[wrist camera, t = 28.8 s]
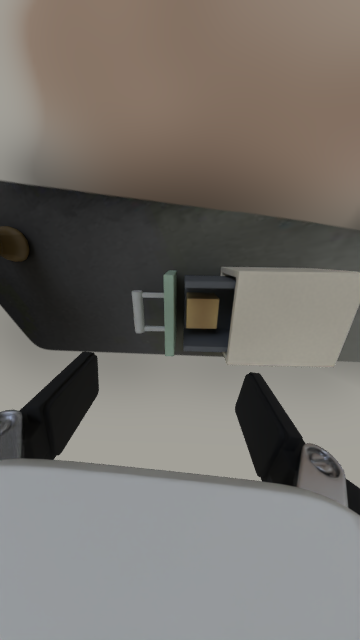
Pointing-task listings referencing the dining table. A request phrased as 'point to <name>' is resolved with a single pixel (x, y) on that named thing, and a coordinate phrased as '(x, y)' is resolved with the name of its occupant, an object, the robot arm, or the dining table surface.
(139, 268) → the dining table surface
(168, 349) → the green drawer
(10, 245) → the kendama
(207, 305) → the block
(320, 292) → the small drawer cabinet
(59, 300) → the dining table surface
